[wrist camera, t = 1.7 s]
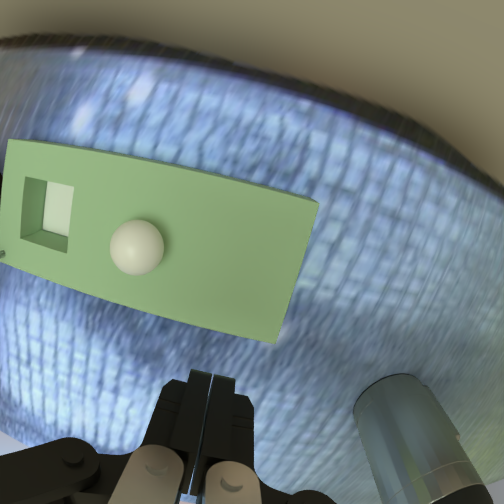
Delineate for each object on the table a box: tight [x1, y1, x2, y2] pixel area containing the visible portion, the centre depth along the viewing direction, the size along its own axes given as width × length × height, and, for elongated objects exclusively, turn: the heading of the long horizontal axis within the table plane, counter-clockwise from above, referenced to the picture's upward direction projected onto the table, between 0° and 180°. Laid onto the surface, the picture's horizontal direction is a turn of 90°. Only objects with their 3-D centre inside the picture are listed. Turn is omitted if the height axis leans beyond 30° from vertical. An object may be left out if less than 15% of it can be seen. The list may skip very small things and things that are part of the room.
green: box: [0, 139, 320, 344], centre depth 26 cm, size 28×12×4 cm, turn 76°
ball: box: [110, 220, 164, 276], centre depth 22 cm, size 4×4×4 cm
